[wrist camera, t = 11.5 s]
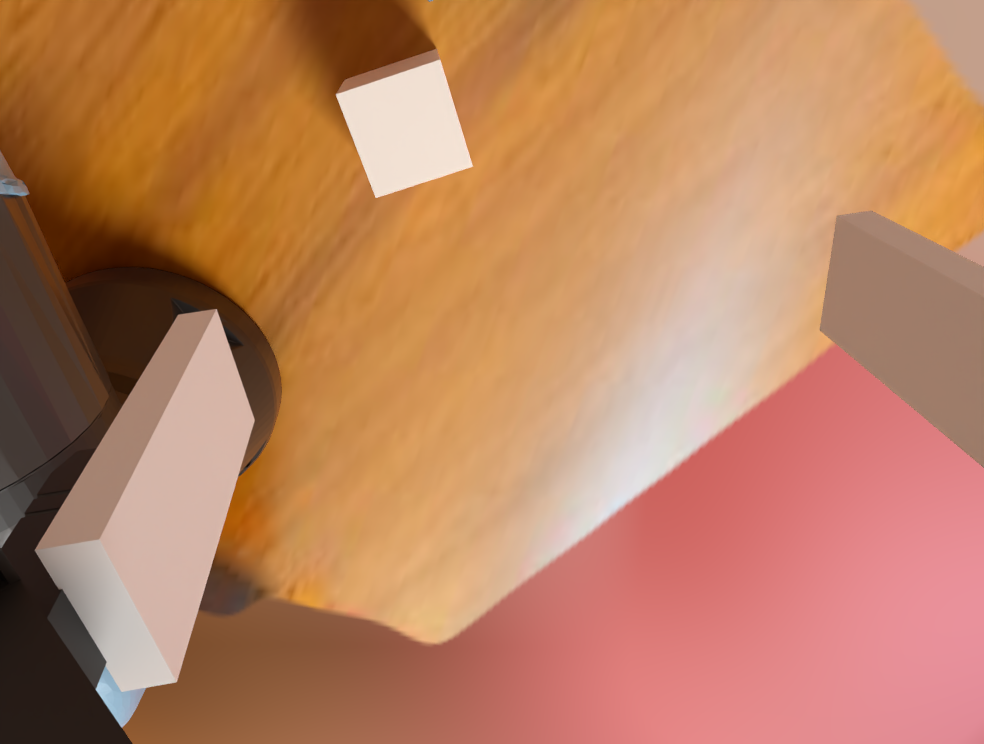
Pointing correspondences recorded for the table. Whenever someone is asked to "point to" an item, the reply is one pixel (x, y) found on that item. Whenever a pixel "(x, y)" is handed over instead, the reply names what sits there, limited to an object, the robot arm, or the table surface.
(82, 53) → the table surface
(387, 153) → the white cube
